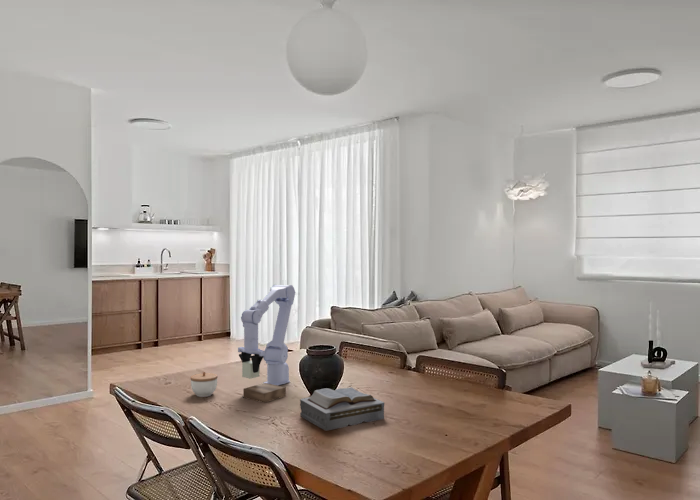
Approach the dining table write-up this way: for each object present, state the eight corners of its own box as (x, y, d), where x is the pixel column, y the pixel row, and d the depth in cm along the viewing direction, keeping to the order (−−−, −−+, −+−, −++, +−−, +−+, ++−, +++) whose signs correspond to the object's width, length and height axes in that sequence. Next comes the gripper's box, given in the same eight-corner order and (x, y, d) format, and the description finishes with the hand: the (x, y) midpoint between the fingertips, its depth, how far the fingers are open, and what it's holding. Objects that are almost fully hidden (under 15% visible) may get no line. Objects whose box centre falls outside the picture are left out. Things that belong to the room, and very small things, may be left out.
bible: (296, 413, 204) (296, 386, 204) (364, 405, 213) (364, 380, 213) (315, 433, 182) (315, 403, 182) (390, 423, 192) (390, 395, 192)
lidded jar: (201, 399, 220) (201, 376, 220) (185, 395, 227) (185, 372, 227) (223, 394, 229) (222, 371, 229) (206, 390, 235) (206, 368, 235)
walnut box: (265, 392, 233) (265, 382, 233) (285, 397, 226) (285, 387, 226) (243, 398, 224) (243, 388, 224) (264, 403, 216) (264, 393, 216)
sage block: (251, 374, 234) (251, 360, 234) (259, 376, 231) (259, 362, 231) (242, 376, 230) (242, 362, 230) (250, 378, 227) (250, 364, 227)
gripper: (232, 338, 232) (232, 370, 232) (255, 341, 223) (255, 375, 223) (245, 335, 237) (245, 367, 237) (268, 339, 228) (268, 372, 228)
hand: (251, 371), depth 230 cm, fingers closed on sage block, 5 cm apart
